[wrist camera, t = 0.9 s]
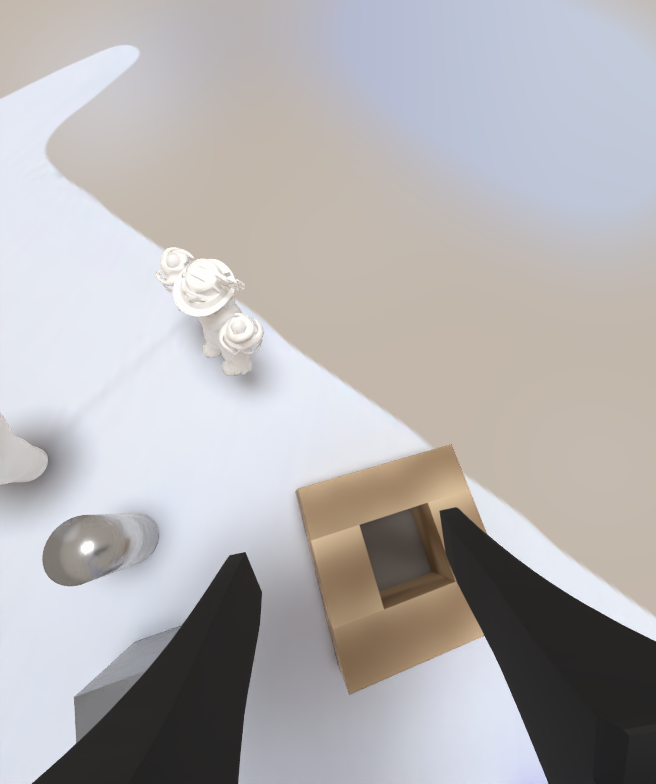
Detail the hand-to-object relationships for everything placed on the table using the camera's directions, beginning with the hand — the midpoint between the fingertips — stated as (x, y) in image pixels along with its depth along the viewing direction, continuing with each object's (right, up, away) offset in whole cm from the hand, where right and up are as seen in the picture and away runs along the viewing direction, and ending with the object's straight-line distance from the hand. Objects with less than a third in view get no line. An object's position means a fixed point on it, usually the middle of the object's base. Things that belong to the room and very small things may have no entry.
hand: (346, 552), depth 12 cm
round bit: (-15, -5, +12) cm, 20 cm away
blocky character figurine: (-10, +9, +18) cm, 22 cm away
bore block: (+4, -6, +14) cm, 16 cm away
